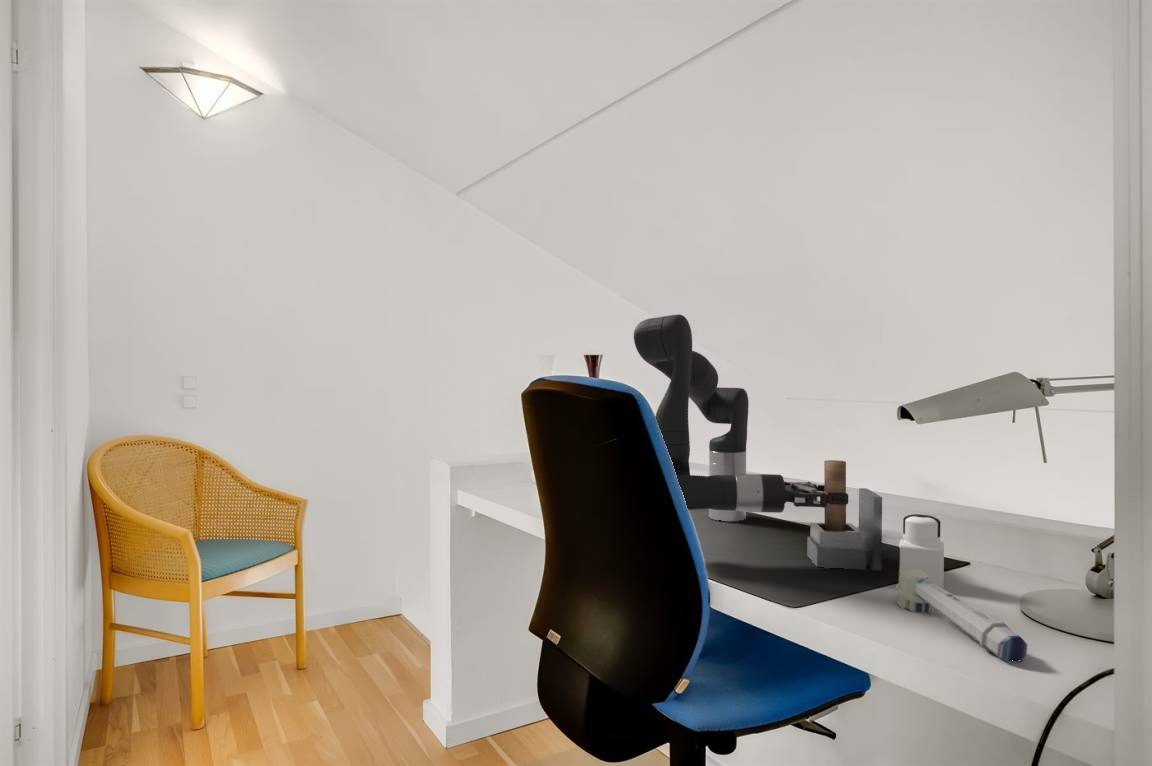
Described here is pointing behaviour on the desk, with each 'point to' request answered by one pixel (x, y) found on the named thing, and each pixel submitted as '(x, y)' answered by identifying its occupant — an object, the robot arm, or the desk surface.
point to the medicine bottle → (922, 547)
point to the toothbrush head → (959, 615)
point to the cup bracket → (850, 539)
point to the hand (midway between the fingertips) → (842, 494)
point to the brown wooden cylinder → (835, 483)
